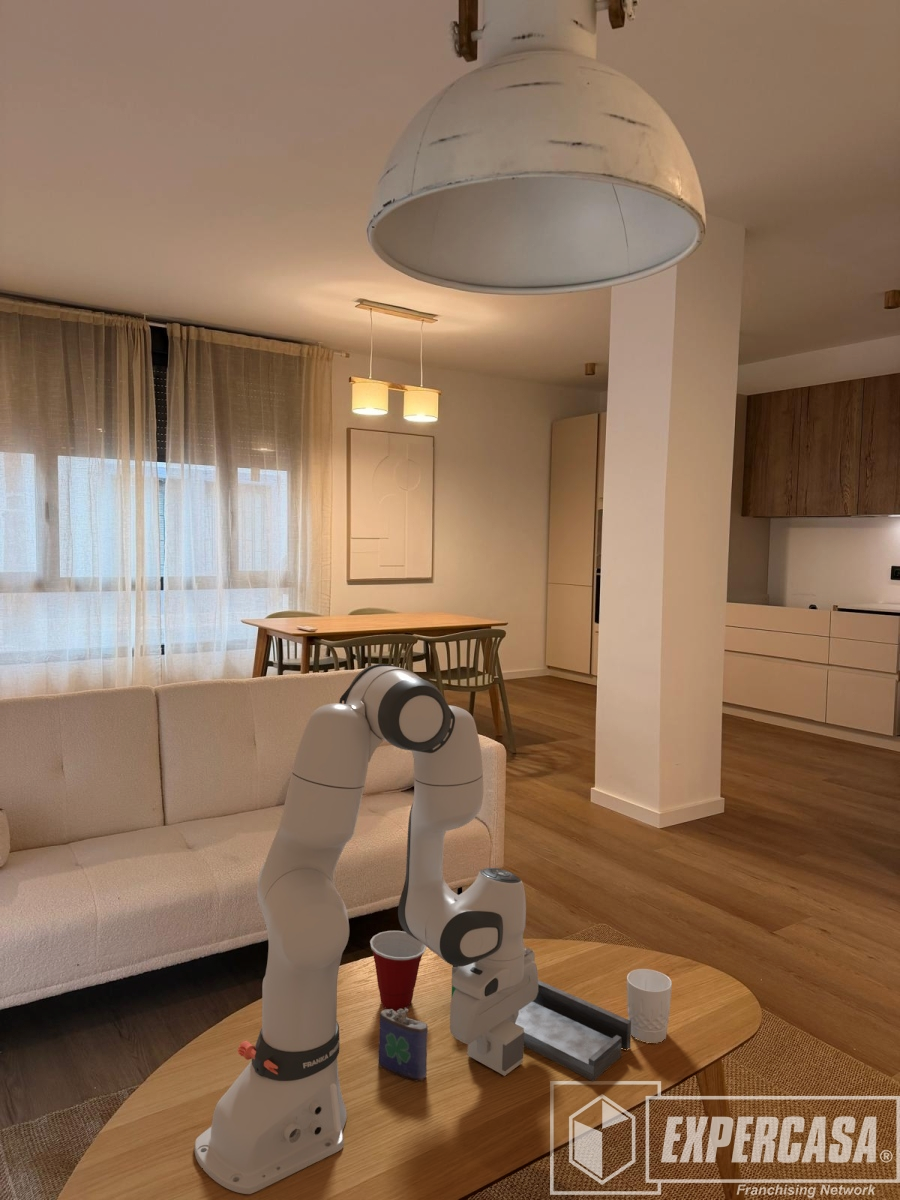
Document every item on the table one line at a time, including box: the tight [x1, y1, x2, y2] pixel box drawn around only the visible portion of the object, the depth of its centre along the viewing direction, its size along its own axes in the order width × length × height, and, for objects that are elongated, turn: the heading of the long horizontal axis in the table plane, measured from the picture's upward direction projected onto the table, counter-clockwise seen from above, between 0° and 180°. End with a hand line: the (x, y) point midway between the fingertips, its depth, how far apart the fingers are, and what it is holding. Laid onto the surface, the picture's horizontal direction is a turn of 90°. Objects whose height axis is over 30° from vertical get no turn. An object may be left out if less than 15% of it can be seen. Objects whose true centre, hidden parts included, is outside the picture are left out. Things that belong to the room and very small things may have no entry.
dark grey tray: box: [515, 979, 632, 1082], centre depth 146 cm, size 12×22×5 cm, turn 49°
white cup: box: [626, 968, 673, 1044], centre depth 148 cm, size 8×8×10 cm
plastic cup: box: [369, 930, 428, 1012], centre depth 156 cm, size 11×11×12 cm
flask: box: [378, 1008, 429, 1083], centre depth 136 cm, size 9×3×11 cm, turn 59°
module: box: [467, 1019, 525, 1077], centre depth 139 cm, size 5×8×6 cm, turn 49°
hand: (495, 1043), depth 139 cm, fingers closed on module, 5 cm apart
